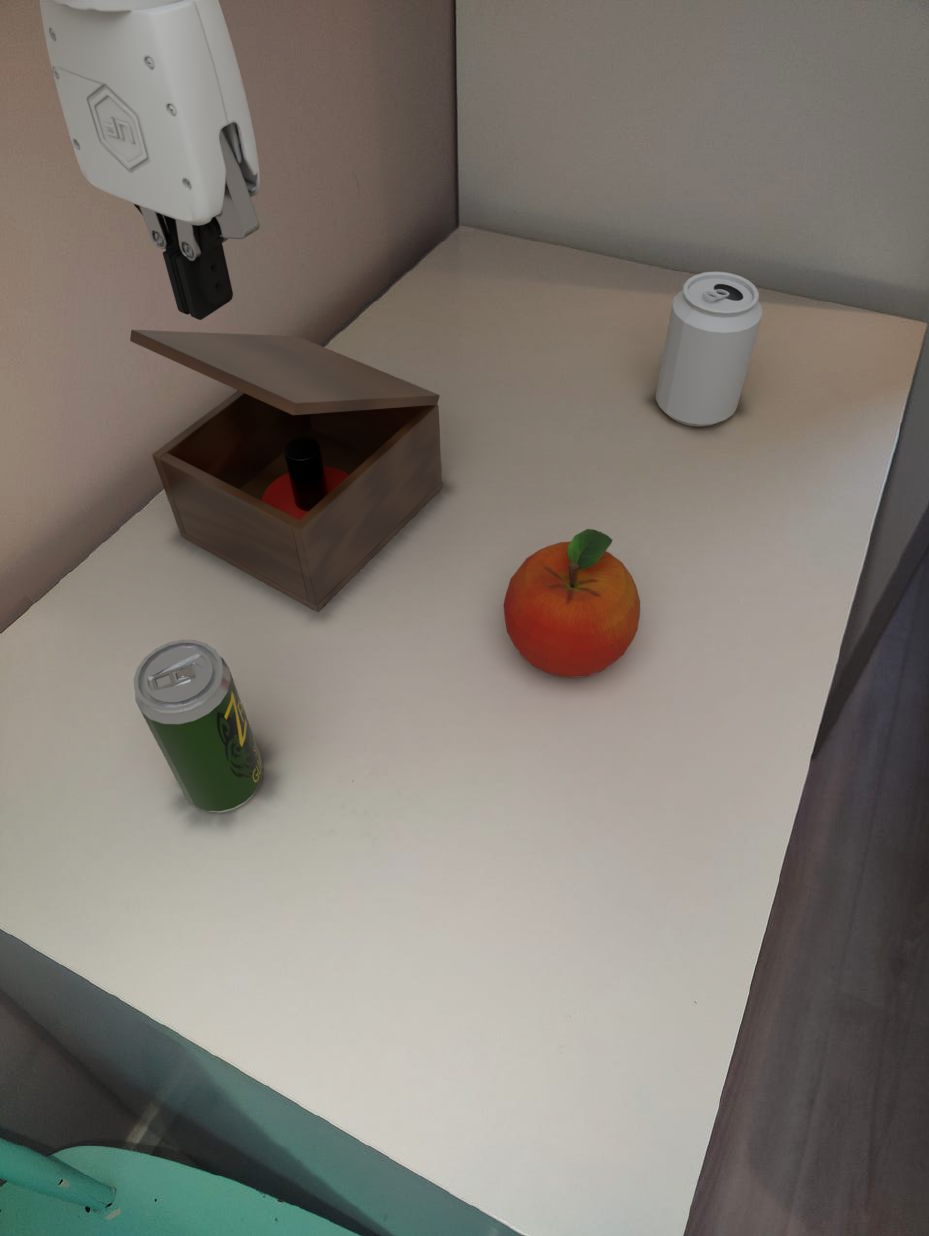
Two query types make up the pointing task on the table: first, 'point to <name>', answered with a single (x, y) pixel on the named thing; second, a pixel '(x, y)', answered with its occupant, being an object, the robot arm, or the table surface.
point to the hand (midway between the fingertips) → (206, 305)
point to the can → (708, 348)
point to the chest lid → (286, 371)
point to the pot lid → (302, 479)
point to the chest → (254, 458)
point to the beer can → (199, 724)
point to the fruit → (572, 607)
